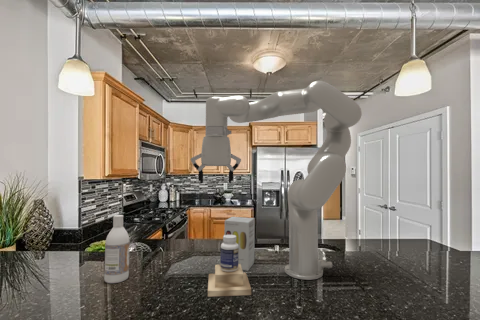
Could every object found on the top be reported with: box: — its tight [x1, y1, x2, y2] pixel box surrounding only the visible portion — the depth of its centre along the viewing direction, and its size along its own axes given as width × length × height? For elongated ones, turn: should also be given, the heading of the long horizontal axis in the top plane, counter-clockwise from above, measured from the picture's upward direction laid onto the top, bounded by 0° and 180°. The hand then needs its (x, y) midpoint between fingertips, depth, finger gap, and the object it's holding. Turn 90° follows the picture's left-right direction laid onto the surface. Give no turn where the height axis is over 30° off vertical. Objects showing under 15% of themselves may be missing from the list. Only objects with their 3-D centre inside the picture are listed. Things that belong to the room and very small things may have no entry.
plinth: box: [207, 264, 252, 298], centre depth 76 cm, size 12×12×5 cm
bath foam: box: [103, 214, 131, 284], centre depth 81 cm, size 7×7×20 cm
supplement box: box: [223, 216, 256, 272], centre depth 94 cm, size 10×9×17 cm
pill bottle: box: [219, 234, 239, 272], centre depth 76 cm, size 5×5×10 cm
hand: (215, 183), depth 87 cm, fingers open, 9 cm apart
